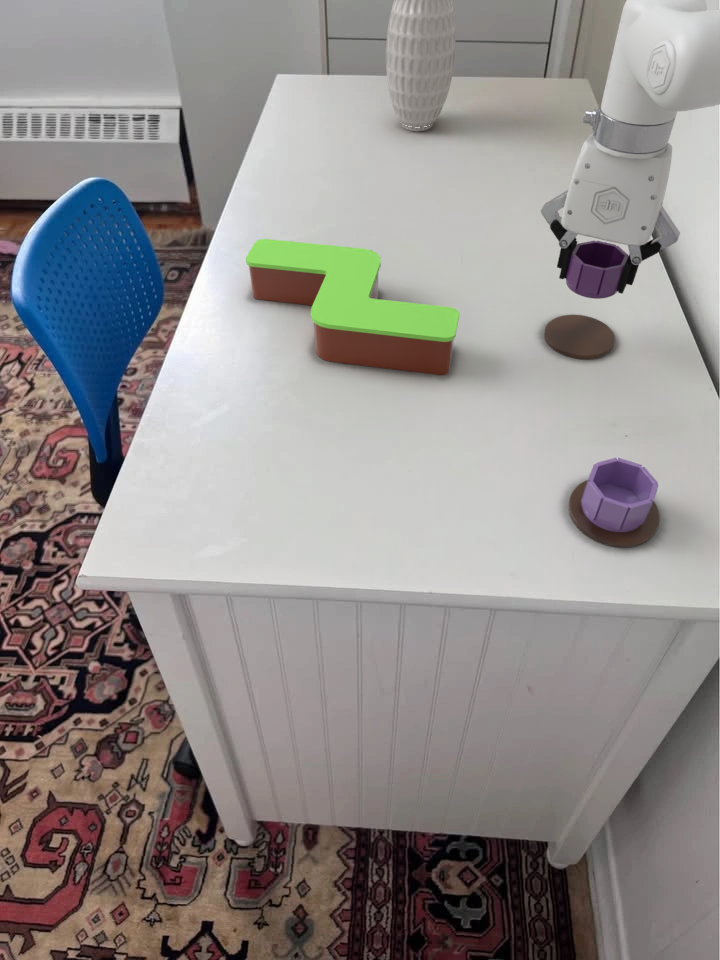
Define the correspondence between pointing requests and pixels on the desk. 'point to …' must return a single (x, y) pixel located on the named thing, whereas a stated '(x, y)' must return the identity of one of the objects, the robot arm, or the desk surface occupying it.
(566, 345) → the coaster far
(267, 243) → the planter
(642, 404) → the desk surface
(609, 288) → the dish plum
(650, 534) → the coaster near
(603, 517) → the dish lilac
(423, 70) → the vase
